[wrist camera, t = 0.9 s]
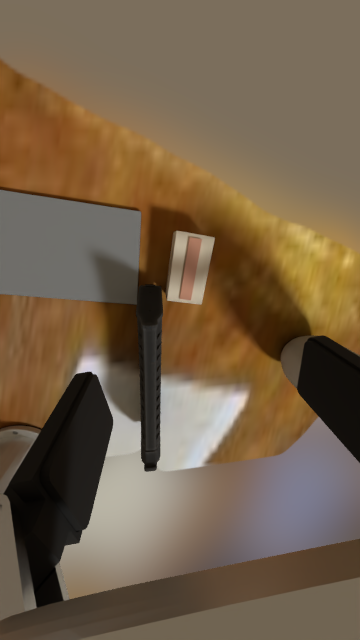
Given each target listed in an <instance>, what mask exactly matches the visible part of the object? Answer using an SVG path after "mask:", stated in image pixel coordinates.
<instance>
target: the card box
mask: <svg viewBox="0 0 360 640" xmlns="http://www.w3.org/2000/svg"><path fill="white" fill-rule="evenodd" d="M214 240H215V237H209V236H204V235H199V234H193V233H188V232H182V231H175V232H173V239H172V247H171V254H170V262H169V269H168V277H167V285H166V292H165V294H166V298H167V301H176V302H184V303H193V304H202V299H203V295H204V290H205V285H206V280H207V275H208V270H209V265H210V260H211V255H212V250H213V245H214Z"/></svg>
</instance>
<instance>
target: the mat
mask: <svg viewBox="0 0 360 640" xmlns="http://www.w3.org/2000/svg"><path fill="white" fill-rule="evenodd" d="M140 228H141V212H140V211H134V210H127V209H121V208H114V207H108V206H101V205H95V204H88V203H82V202H75V201H69V200H62V199H56V198H49V197H43V196H36V195H30V194H24V193H17V192H11V191H4V190H0V294H8V295H21V296H33V297H46V298H59V299H72V300H85V301H97V302H110V303H123V304H136V305H137V296H138V273H139V250H140Z"/></svg>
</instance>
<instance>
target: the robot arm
mask: <svg viewBox="0 0 360 640" xmlns="http://www.w3.org/2000/svg"><path fill="white" fill-rule="evenodd" d="M297 390H298V393H299V394H300V396H301V397H302V398H303V399H304V400H305V401H306V402H307V404H308V405H309V406H310V407H311V408H312V409H313V410H314V412H315V413H316V414H317V415H318V416H319V417H320V418H321V419H322V421H323V422H324V423H325V424H326V425H327V426H328V427H329V429H330V430H331V431H332V432H333V433H334V434H335V435H336V436H337V438H338V439H339V440H340V441H341V442H342V443H343V444H344V446H345V447H346V448H347V449H348V450H349V451H350V452H351V453H352V455H353V456H354V457H355V458H356V459H357V460H358V461H359V462H360V357H359V356H358V355H356V354H354V353H353V352H351V351H349V350H348V349H346V348H344V347H343V346H341V345H340V344H338V343H336V342H335V341H333V340H331V339H330V338H328V337H326V336H316V337H310V338H308V340H307V341H306V342H305V344H304V348H303V354H302V360H301V366H300V372H299V378H298V384H297ZM112 428H113V417H112V414H111V412H110V409H109V406H108V404H107V401H106V398H105V396H104V393H103V390H102V388H101V385H100V382H99V379H98V377H97V375H95V374H94V375H93V373H92V372H85V373H79V374H76V375H75V376H74V378H73V379H72V381H71V382H70V384H69V386H68V387H67V389H66V391H65V392H64V394H63V396H62V397H61V399H60V400H59V402H58V404H57V405H56V407H55V409H54V410H53V412H52V414H51V415H50V417H49V418H48V420H47V422H46V423H45V425H44V427H43V428H42V430H40V429H37V428H34V427H30V426H8V427H5V428H1V429H0V640H360V539H357V540H352V541H346V542H341V543H336V544H331V545H326V546H321V547H317V548H311V549H307V550H301V551H297V552H292V553H287V554H282V555H277V556H272V557H268V558H262V559H257V560H252V561H247V562H242V563H237V564H232V565H227V566H223V567H217V568H213V569H208V570H203V571H198V572H193V573H189V574H184V575H179V576H175V577H170V578H165V579H160V580H155V581H150V582H145V583H140V584H135V585H131V586H126V587H122V588H117V589H112V590H108V591H104V592H100V593H96V594H91V595H87V596H82V597H78V598H74V599H69V596H68V592H67V589H66V585H65V581H64V577H63V574H62V570H61V567H60V563H59V562H60V559H61V556H62V553H63V550H64V546H65V545H71V544H76V543H79V541H80V538H81V534H82V530H84V529H86V528H87V525H88V524H89V520H90V516H91V513H92V508H93V504H94V500H95V496H96V492H97V488H98V484H99V480H100V476H101V472H102V468H103V464H104V460H105V456H106V452H107V448H108V444H109V440H110V436H111V432H112Z"/></svg>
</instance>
